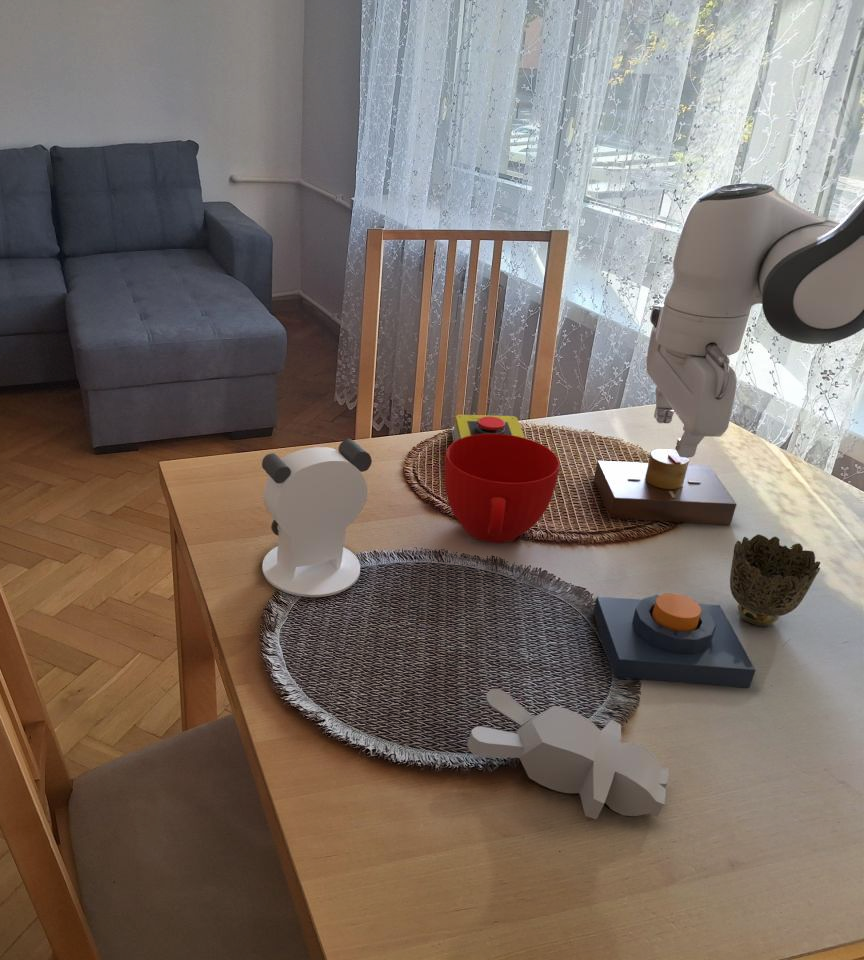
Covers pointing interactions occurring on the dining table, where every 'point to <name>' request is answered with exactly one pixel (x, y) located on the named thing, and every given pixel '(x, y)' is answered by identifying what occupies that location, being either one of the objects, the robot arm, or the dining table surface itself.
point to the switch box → (671, 645)
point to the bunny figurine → (576, 757)
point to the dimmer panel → (663, 495)
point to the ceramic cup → (499, 484)
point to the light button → (676, 612)
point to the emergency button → (485, 426)
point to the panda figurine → (314, 517)
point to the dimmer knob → (666, 469)
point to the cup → (770, 578)
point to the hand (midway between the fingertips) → (672, 437)
